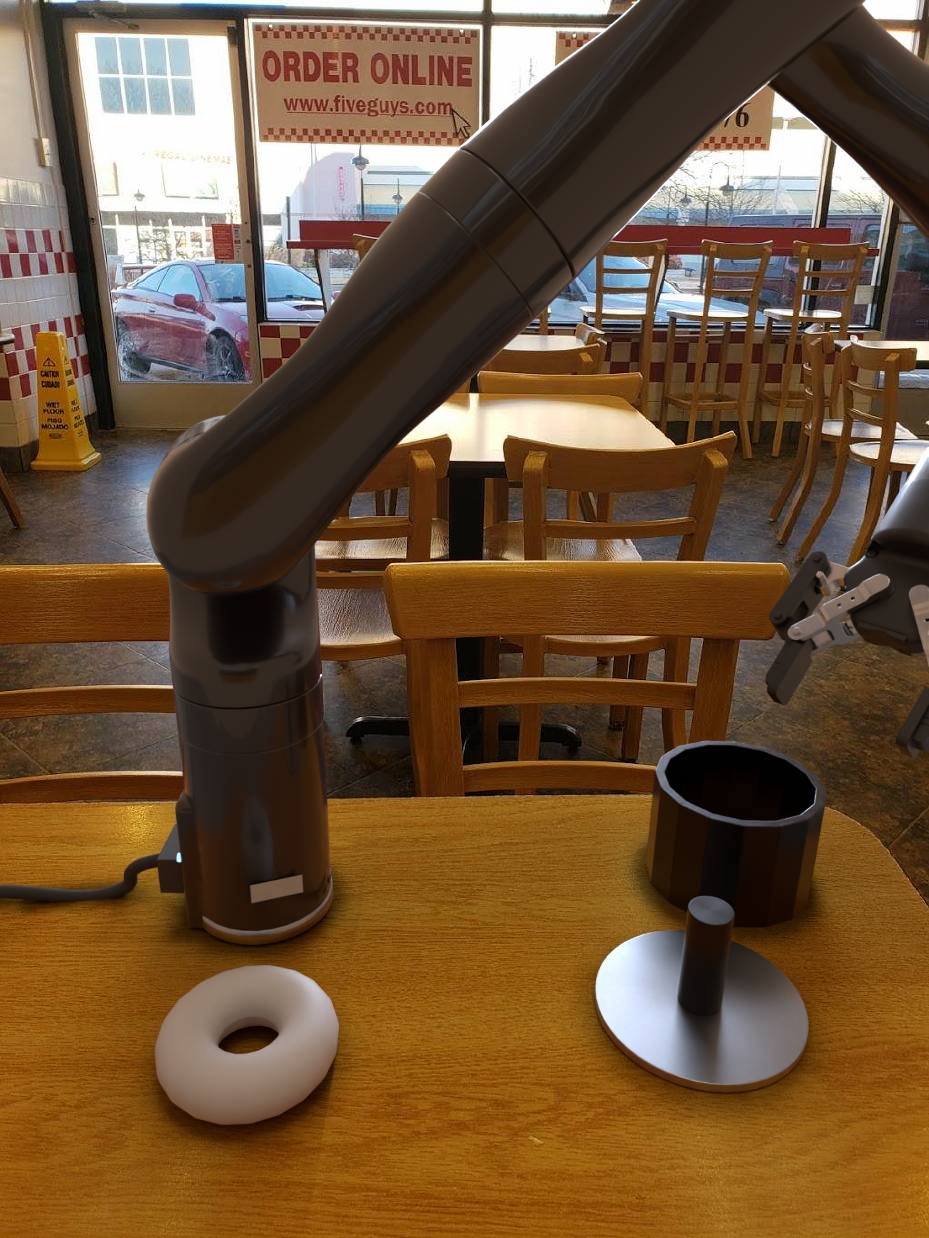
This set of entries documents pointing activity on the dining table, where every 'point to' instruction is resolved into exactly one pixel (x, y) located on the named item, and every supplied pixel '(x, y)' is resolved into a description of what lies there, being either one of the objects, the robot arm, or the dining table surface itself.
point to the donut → (255, 1079)
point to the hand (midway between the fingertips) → (836, 723)
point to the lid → (702, 1005)
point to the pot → (735, 829)
